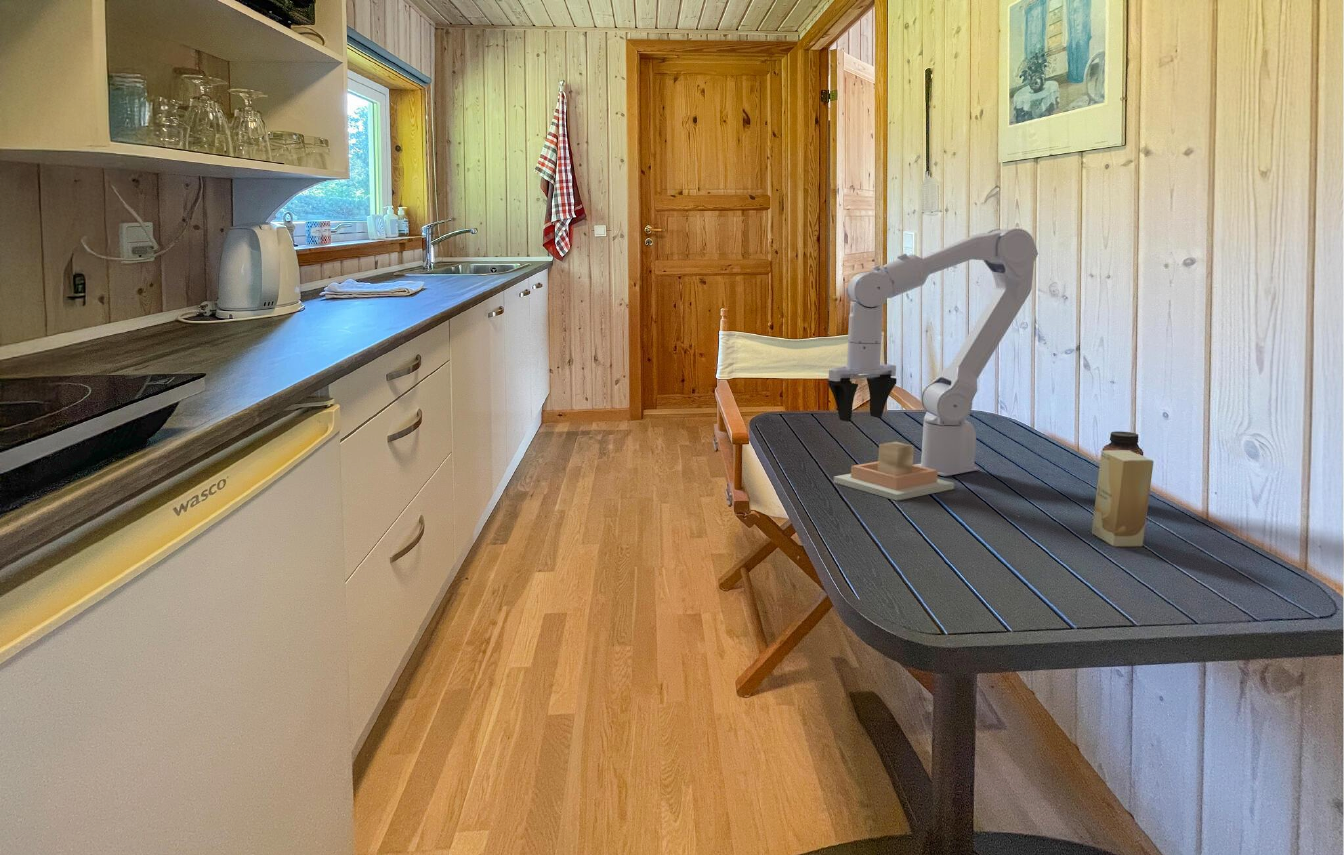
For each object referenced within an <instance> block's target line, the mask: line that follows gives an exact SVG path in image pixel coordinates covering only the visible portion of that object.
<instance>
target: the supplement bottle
mask: <svg viewBox="0 0 1344 855" xmlns="http://www.w3.org/2000/svg"><path fill="white" fill-rule="evenodd" d="M1109 437H1110V438H1109V442H1110V443H1109V444H1108V443H1107V444H1106V445H1104V447H1103V448H1102V450H1101V451H1106V450H1129V451H1132V452H1134V453H1136V454H1140V455H1142V456H1144V451H1143V449H1142V448H1141V447H1140V446H1139V434H1137V433H1135V432H1131V431H1122V430H1121V431H1112V432H1110V436H1109Z"/></svg>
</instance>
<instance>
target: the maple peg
mask: <svg viewBox="0 0 1344 855" xmlns="http://www.w3.org/2000/svg"><path fill="white" fill-rule="evenodd" d="M914 448H915V445H912V444H907V443H902V442H899V441H893V442H885V443H879V444H878V460H877V462H878V471H879V472H883V473H887V474H891V475H894V476H899V475H904V474H910V473H912V468H913V464H914V450H915V449H914Z"/></svg>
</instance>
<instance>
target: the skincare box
mask: <svg viewBox="0 0 1344 855" xmlns="http://www.w3.org/2000/svg"><path fill="white" fill-rule="evenodd" d="M1153 468H1154V460H1153V459H1150V458H1148V457H1146V456H1144V455H1143V456H1142V455H1140V454H1136V453H1134V452H1132V451H1129V450H1106V451H1102V450H1101V451H1100V461H1099V469H1098V477H1097V486H1096V493H1095V494H1096V495H1095V503H1094V510H1093V519H1092V526H1091V533H1092V534H1093V535H1095V537H1097V538H1099V539H1101V540H1103V541H1104V542H1106V543H1108V544H1109V545H1111V546H1112V547H1142V546H1143V545H1144V536H1145V531H1146V530H1145V529H1146V522H1147V514H1148V506H1149V498H1150V492H1151V483H1152V476H1153V470H1154V469H1153Z"/></svg>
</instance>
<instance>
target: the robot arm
mask: <svg viewBox="0 0 1344 855" xmlns="http://www.w3.org/2000/svg"><path fill="white" fill-rule="evenodd" d="M1038 255H1039V252H1038V249H1037V247H1036V243H1035V241H1034V238H1033V236H1032V234H1030V233H1029V232H1028V231H1027V230H1025V229H1022V228H1012V229H1011V228H1010V229H1001V228H996V229H994V228H993V229H990V230H988V231H987V232H981V233H978V234H974V235H971V236H968V237H966V238H963V239H961V240H959V241H957V242H955V243H952V244H950V245H948V246H945V247H942V248H941V249H938V250H937V251H934V252H932V253H930V254H929V253H928V254H927V255H925V256H923V257H921V256H918V255H917V254H913V253H911V254H908V255H907V253H901V254H899V255H897V256H896V257H897V259H896V260H892V261H891V262H888V263H886V264H884V265H881V266H880V265H878V264H877V265H876V264H875V265H874V266H872V267H871V269H872V270H871V271H869V272H860V273H857V274H856V275H854V276H852V278H851V279H850V280H849V282H848V285H847V287H846V289H845V290H846V296H847V298H848V299H849V301H850V307H849V315H848V332H847V358H846V365H845V366H840V367H836V368H835V367H834V368H829V369H828V381H827V386H828V387H829V389H830V391H831V393H832V395H833V397H834V398H833V399H834V401H835V405H836V408H837V413H838V417H839V421H842V422H848V423H849V422H851V420H852V415H853V414H852V413H853V406H854V399H855V396H856V392H857V389H858V388H859V383H854V382H852V380H858V379H859V380H860V379H866V383H867V386H868V392H869V413H870V414H869V416H870V417H873V418H878V419H880V418H882V416H883V413H884V411H885V410H884V409H885V407H886V404H887V401H888V398H889V397H890V394H891V393H892V390H893V389H894V387H895V386H896V385H897V380H898V379H897V377H896V375H897V374H896V372H897V365H896V364H889V363H888V364H881V357H882V356H881V352H882V338H883V336H882V333H883V319H884V318H883V317H884V316H883V311H884V310H883V309H884V306H883V305H884V304H885V303H886V301H887V299H891V298H895V297H897V296H899V295H902V294H904V293H907V292H909V291H912V290H914V289H917V288H919V287H922V286H924V285H925V283H926V281H927V279H928V278H929V276H930V275H932V274H934V273H937V272H940V271H943V270H945V269H949V268H951V267H954V266H957V265H959V264H963V263H965V262H969V261H971V260H974V261H975V260H976V261H983V262H984V264H985V266H986V267H987V268H988V269H989V270H990V272H991V274H992V276H993V280H994V283H995V285H996V289H995V291H994V292H993V294H992V295H991V297H990V298H989V300H988V302H987V304H986V305H985V307H984V308H983V309H982V312H981V313H980V315H979V316H978V318H977V320H976V322H975V323H974V325H973V327H972V328H971V330H970V331H969V332H968V335H967V336H966V338H965V340H964V342H962V345H961V347H960V348H959V350H958V351H957V353H956V354H955V356H954V358H953V359H952V361H951V363H950V364H948V366H947V367H945V368H944V369H942V370H941V371H940V372H939V373H938V375H937V376H936V377H935V379H934V380H933V381H931V382H930V383H928V384H927V385H926V386H925V387H924V388H923V390H922V392H921V394H920V403H921V406H922V408H923V410H924V411H925V412H926V413H925V415H924V417H923V426H922V427H923V428H922V442H921V443H922V445H921V460H920V463H914V465H918V466H922V467H926V468H930V469H934V470H938V472H937V476H942V477H950V476H953V475H958V474H959V475H960V474H964V473H969V472H974V471H978V470H979V467H978V466H977V467H976V466H975V461H976V458H975V457H976V444H977V433H976V429H975V427H974V425H973V424H972V423H971V422H970V421H968V420H966V419H967V418H968V417H969V416H970V414H971V412H972V409H973V400H974V398H975V396H976V394H977V393H978V378H979V377H980V375H981V373H982V372H983V370H984V368H985V367H986V365H987V364H988V362H989V360H990V359H991V357H992V355H993V354H994V352H995V351H996V350H997V347H998V345H999V344H1000V342H1001V341H1002V339H1003V337H1004V336H1005V334H1006V333H1007V332H1008V329H1009V328H1010V326H1011V325H1012V323H1013V321H1014V320H1015V318H1016V317H1017V315H1018V313H1019V312H1020V310H1021V308H1022V307H1023V305H1024V304H1025V302H1026V300H1027V298H1028V297H1029V295H1030V294H1031V291H1032V288H1033V278H1034V277H1033V276H1034V267H1035V266H1034V265H1035V261H1036V259H1037V257H1038Z"/></svg>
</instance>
